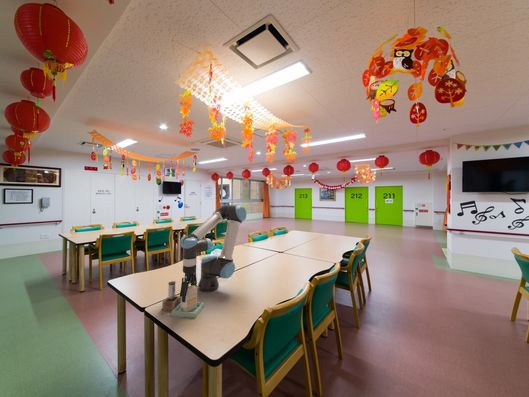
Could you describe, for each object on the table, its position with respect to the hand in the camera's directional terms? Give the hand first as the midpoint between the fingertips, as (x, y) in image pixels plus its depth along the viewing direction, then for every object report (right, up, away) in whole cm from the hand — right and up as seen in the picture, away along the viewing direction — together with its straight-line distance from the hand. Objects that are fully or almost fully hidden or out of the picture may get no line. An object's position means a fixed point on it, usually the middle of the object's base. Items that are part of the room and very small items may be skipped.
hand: (188, 302), depth 120 cm
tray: (0, -5, 0) cm, 5 cm away
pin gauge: (-12, -5, +4) cm, 14 cm away
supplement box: (0, -5, 0) cm, 5 cm away
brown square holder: (-12, -5, +4) cm, 13 cm away
